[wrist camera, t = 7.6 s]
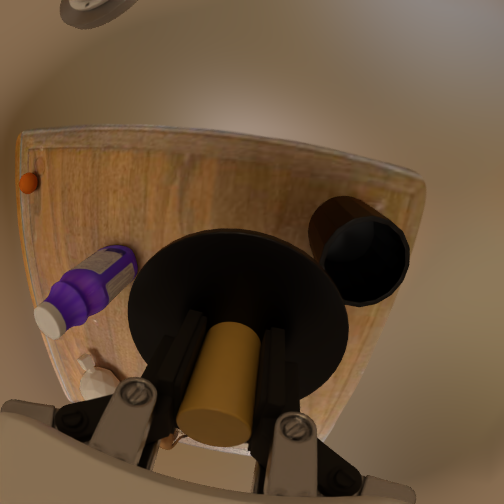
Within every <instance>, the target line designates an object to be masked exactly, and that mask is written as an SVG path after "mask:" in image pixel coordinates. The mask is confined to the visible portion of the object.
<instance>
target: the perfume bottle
mask: <svg viewBox="0 0 504 504" xmlns="http://www.w3.org/2000/svg"><path fill="white" fill-rule="evenodd" d="M77 360H78V362H79V363H80V365H81V367H82V369H84V370H86V372H85V373H84V375H83V377H82V378H81V381H80V391H81V393H82V395H83V397H84V399H85V401H86V400H90V399H94V398H99V397H103V396H107V395H110V394H113V393H114V391H115V389H116V388H117V386H118V385H119V383H120V381H119V380H118V379H117V378H116V377H115V375H114V374H113V373H112V372H111V371H110V370H107V369H104V368H101V367H95V368H94V366H95V363H94V361H93V359H92V357H91V355H89V354H84V355H82V356H81V357H79V358H78V359H77Z"/></svg>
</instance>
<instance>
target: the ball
mask: <svg viewBox="0 0 504 504" xmlns="http://www.w3.org/2000/svg"><path fill="white" fill-rule="evenodd" d="M19 187H20V190H21V191H22V192H23V193H25V194H30V193H32V192H33V191H34V190H35V189H36V187H37V178H36V176H35V175H34V174H33V173H26V174H24V175H23V176H22V177H21V179H20V182H19Z"/></svg>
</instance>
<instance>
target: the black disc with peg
mask: <svg viewBox="0 0 504 504" xmlns="http://www.w3.org/2000/svg"><path fill="white" fill-rule="evenodd" d="M190 309H191V310H195V311H199V312H203V316H205V317H207V324H206V332H205V339H204V341H203V344H202V347H201V350H200V352H199V355H198V358H197V361H196V363H195V366H194V369H193V372H192V374H191V377H190V380H189V383H188V386H187V388H186V391H185V394H184V397H183V400H182V402H181V405H180V408H179V411H178V413H177V416H176V422H177V425H178V427H179V429H180V430H181V431H182V432H183V433H184V434H186V435H187V436H188V437H190V438H192V439H193V440H196V441H198V442H200V443H203V444H207V445H211V446H217V447H233V446H238V445H241V444H243V443H245V442H247V441H248V440H249V439H250V437H251V435H252V429H253V413H254V404H255V395H256V386H257V377H258V367H259V357H260V348H261V344H262V341H263V337H264V333H265V330H270V329H271V327H275V328H280V329H284V330H285V361H290V362H296V363H297V364H298V378H299V399H300V400H301V399H302V398H304V397H306V396H308V395H310V394H311V393H313V392H314V391H315V390H317V389H318V388H319V387H321V386H322V385H323V384H324V383H325V382H326V381H327V380H328V379H329V378H330V377H331V375H332V374H333V373H334V372H335V370H336V369H337V367H338V365H339V364H340V362H341V360H342V358H343V355H344V353H345V350H346V346H347V342H348V333H349V324H348V315H347V311H346V308H345V304H344V301H343V299H342V296H341V294H340V292H339V290H338V288H337V286H336V284H335V283H334V281H333V280H332V278H331V277H330V276H329V274H328V273H327V272H326V271H325V270H324V269H323V267H322V266H321V265H320V264H319V263H318V262H317V261H316V260H314V259H313V258H312V257H310V256H309V255H308V254H307V253H305V252H304V251H302V250H301V249H299V248H297V247H296V246H294V245H292V244H290V243H289V242H286V241H284V240H281V239H279V238H277V237H274V236H271V235H268V234H264V233H260V232H257V231H251V230H244V229H213V230H204V231H200V232H197V233H193V234H189V235H186V236H184V237H182V238H179V239H177V240H175V241H173V242H171V243H170V244H168V245H167V246H165V247H163V248H162V249H161V250H160V251H158V252H157V253H156V254H155V255H154V256H153V257H152V258H151V259H149V260H148V262H147V263H146V264H145V265H144V266H143V268H142V269H141V270H140V272H139V273H138V275H137V277H136V279H135V281H134V283H133V285H132V288H131V291H130V295H129V301H128V322H129V328H130V332H131V335H132V338H133V341H134V343H135V345H136V347H137V349H138V351H139V353H140V354H141V356H142V358H143V359H144V361H145V362H146V363H147V365H148V363H149V362H150V360H151V358H152V356H153V354H154V352H155V351H156V349H157V347H158V345H159V343H160V342H161V340H162V338H163V336H164V335H169V336H173V337H176V335H177V333H178V331H179V329H180V327H181V325H182V323H183V321H184V320H185V318H186V316H187V314H188V312H189V310H190Z"/></svg>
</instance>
